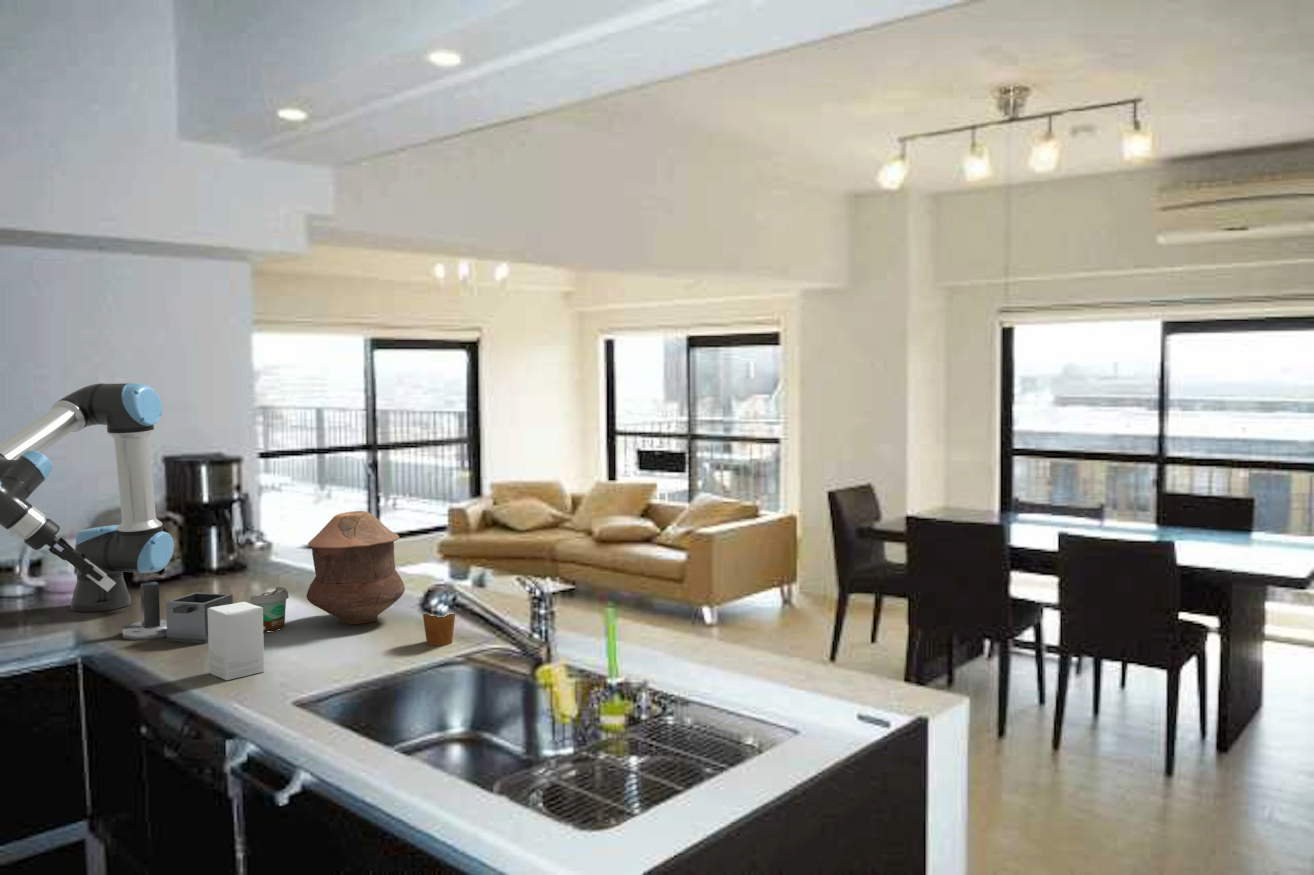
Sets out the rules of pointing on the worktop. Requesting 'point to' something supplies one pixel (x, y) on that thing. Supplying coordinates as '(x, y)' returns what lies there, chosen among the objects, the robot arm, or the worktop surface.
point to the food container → (272, 608)
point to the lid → (147, 616)
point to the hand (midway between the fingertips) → (107, 582)
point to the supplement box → (235, 640)
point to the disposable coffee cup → (439, 629)
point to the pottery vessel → (354, 568)
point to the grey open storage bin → (192, 616)
